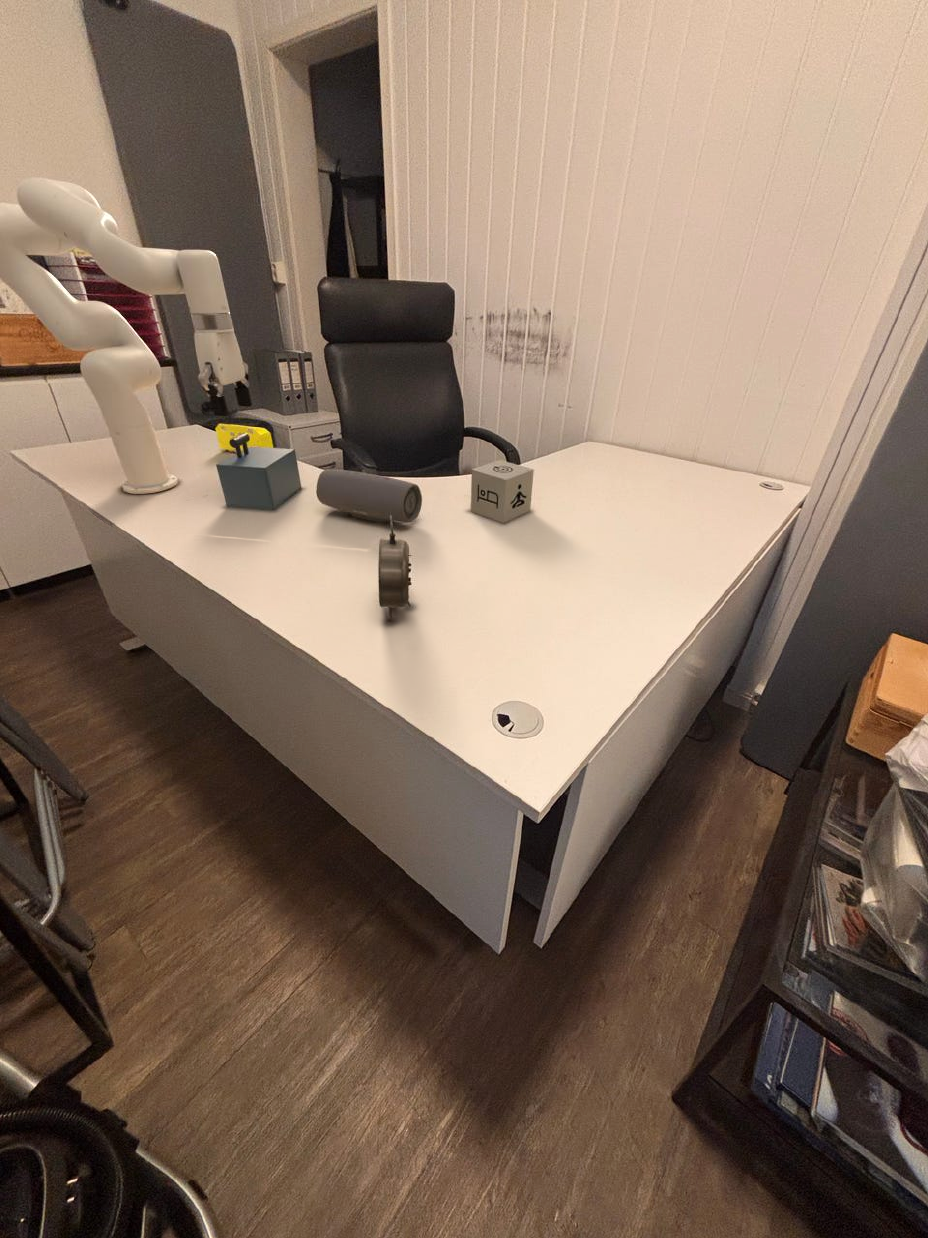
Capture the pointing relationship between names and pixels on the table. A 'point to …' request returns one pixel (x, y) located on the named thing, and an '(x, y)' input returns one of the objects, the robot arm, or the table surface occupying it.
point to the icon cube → (501, 490)
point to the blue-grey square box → (258, 475)
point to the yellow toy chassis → (228, 432)
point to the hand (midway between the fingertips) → (234, 410)
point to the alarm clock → (393, 572)
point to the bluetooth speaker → (369, 495)
